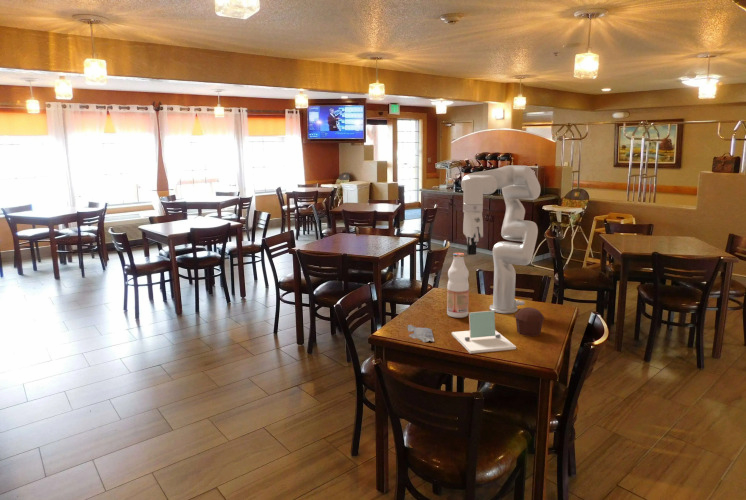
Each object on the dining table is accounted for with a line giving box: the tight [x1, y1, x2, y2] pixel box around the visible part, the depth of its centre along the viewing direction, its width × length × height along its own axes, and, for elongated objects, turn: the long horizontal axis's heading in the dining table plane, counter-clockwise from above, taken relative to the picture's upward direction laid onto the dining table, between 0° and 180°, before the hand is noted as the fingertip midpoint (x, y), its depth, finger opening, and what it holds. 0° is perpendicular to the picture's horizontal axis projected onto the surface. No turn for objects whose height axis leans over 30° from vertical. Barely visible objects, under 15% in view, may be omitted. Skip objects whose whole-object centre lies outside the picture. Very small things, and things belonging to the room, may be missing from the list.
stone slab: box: [406, 324, 435, 343], centre depth 210 cm, size 18×2×10 cm
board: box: [451, 329, 517, 354], centre depth 202 cm, size 18×20×2 cm
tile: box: [468, 310, 496, 338], centre depth 201 cm, size 10×10×1 cm
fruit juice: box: [446, 252, 470, 319], centre depth 231 cm, size 9×9×28 cm
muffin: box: [514, 307, 546, 337], centre depth 210 cm, size 12×11×10 cm
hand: (471, 254), depth 208 cm, fingers closed
